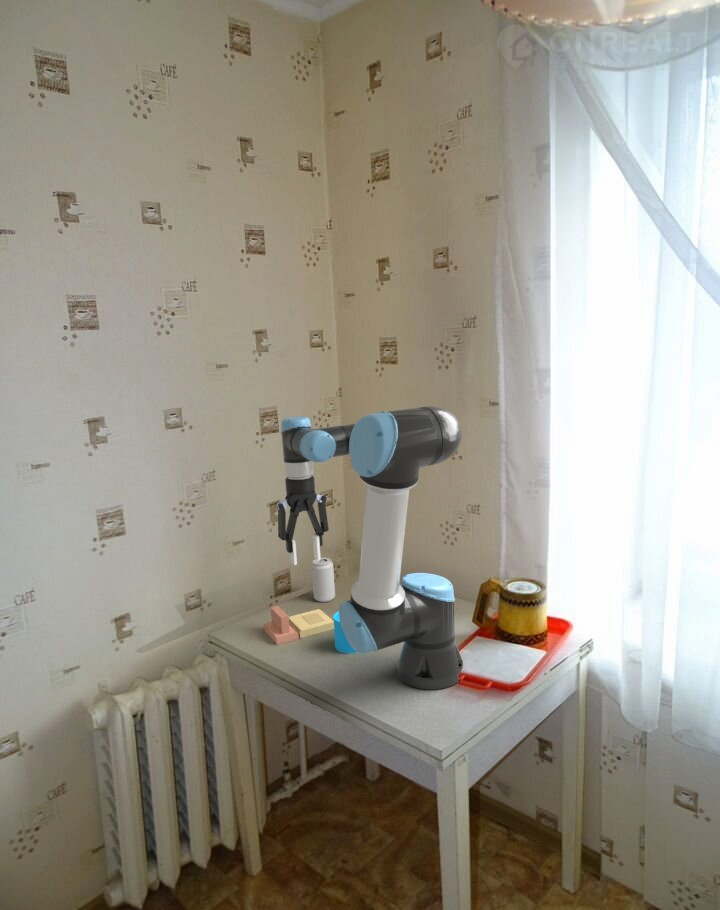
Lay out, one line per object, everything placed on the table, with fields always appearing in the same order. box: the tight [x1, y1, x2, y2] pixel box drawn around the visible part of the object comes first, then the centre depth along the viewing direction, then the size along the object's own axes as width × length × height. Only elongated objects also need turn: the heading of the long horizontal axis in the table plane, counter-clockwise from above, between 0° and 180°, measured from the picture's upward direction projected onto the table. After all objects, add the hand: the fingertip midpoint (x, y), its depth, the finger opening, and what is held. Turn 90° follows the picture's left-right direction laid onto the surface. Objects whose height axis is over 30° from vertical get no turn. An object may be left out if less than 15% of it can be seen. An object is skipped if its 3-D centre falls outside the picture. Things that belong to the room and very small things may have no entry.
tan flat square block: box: [288, 608, 334, 639], centre depth 183 cm, size 10×10×2 cm
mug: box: [332, 610, 358, 654], centre depth 172 cm, size 12×8×8 cm
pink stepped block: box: [263, 605, 300, 645], centre depth 179 cm, size 10×6×6 cm, turn 27°
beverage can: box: [311, 557, 336, 603], centre depth 200 cm, size 6×6×12 cm
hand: (305, 560), depth 179 cm, fingers open, 6 cm apart
